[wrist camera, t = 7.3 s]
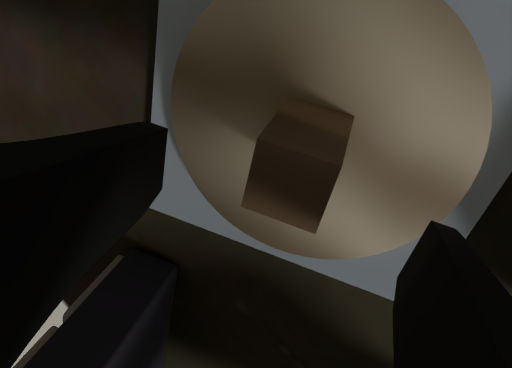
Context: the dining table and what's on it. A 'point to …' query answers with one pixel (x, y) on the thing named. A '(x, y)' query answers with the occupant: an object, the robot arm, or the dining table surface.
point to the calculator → (114, 319)
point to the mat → (358, 269)
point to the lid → (331, 119)
